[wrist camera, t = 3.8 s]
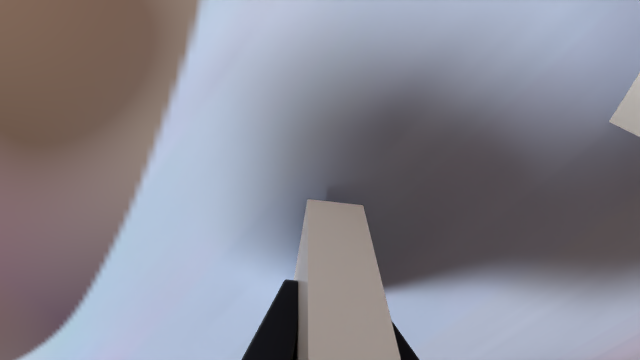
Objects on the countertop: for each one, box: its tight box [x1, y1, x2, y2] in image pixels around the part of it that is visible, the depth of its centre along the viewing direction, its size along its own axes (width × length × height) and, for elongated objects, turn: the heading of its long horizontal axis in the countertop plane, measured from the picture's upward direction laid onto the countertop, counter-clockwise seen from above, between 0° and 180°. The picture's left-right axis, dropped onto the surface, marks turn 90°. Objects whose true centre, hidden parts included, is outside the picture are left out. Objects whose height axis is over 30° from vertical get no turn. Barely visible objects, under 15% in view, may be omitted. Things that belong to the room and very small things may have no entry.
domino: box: [293, 199, 401, 360], centre depth 9 cm, size 2×5×5 cm, turn 171°
